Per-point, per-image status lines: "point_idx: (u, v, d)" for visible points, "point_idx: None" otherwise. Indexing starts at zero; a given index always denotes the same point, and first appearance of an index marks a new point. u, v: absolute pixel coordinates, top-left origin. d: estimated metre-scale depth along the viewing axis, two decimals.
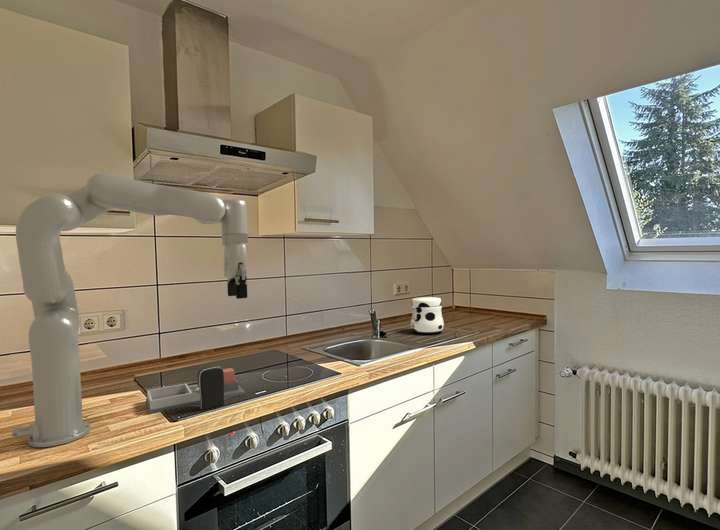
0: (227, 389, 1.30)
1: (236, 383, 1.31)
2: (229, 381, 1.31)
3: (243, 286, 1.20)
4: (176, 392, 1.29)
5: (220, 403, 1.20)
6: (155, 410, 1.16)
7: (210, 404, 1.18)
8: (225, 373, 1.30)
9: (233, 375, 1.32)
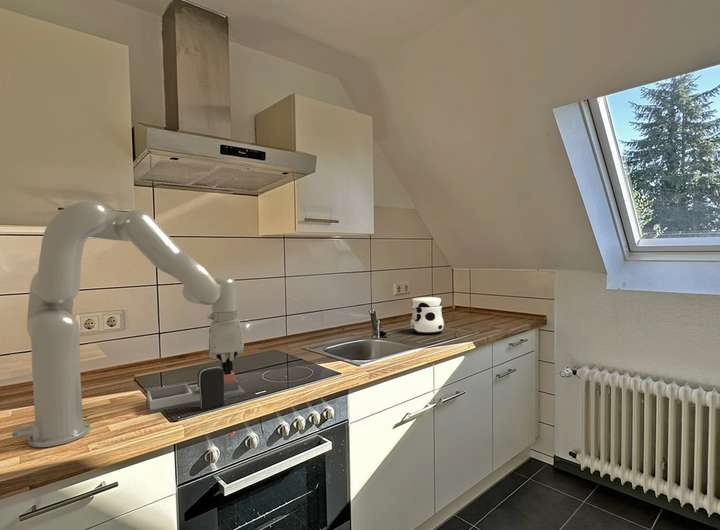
0: (227, 389, 1.30)
1: (236, 383, 1.31)
2: None
3: None
4: (176, 392, 1.29)
5: (220, 403, 1.20)
6: (155, 410, 1.16)
7: (210, 404, 1.18)
8: (225, 376, 1.30)
9: (233, 378, 1.32)
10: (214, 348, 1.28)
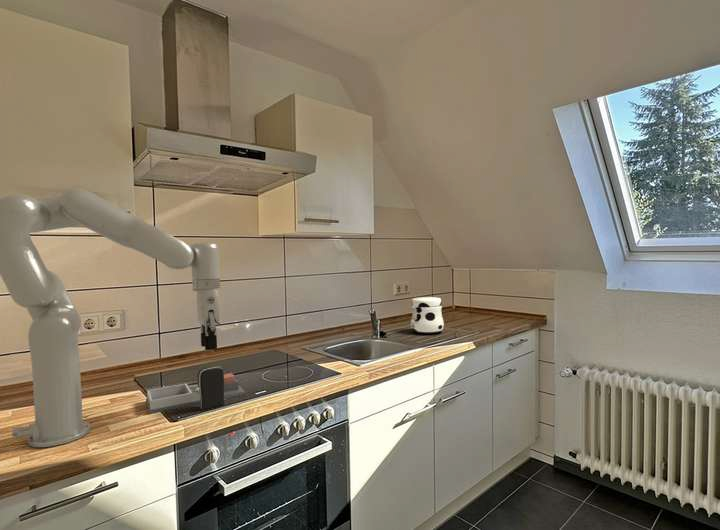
0: (227, 389, 1.30)
1: (236, 383, 1.31)
2: None
3: None
4: (176, 392, 1.29)
5: (220, 403, 1.20)
6: (155, 410, 1.16)
7: (210, 404, 1.18)
8: (225, 379, 1.30)
9: (233, 381, 1.32)
10: (220, 317, 1.17)
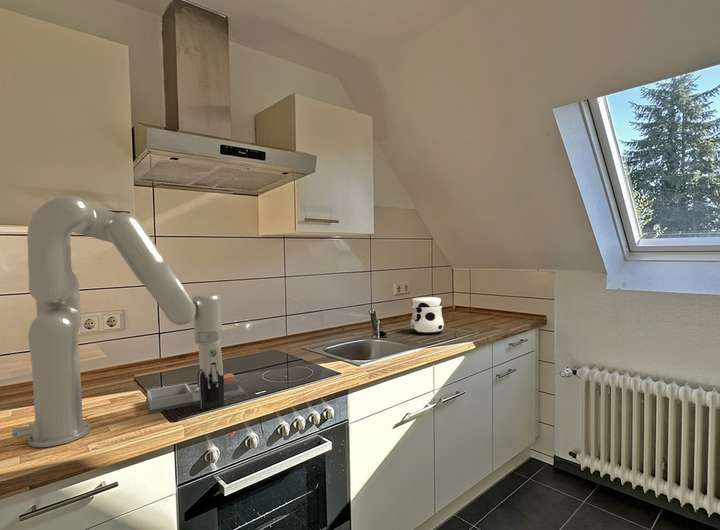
0: (227, 389, 1.30)
1: (236, 383, 1.31)
2: None
3: None
4: (176, 392, 1.29)
5: (220, 403, 1.20)
6: (155, 410, 1.16)
7: (210, 404, 1.18)
8: (225, 379, 1.30)
9: (233, 381, 1.32)
10: (222, 369, 1.18)
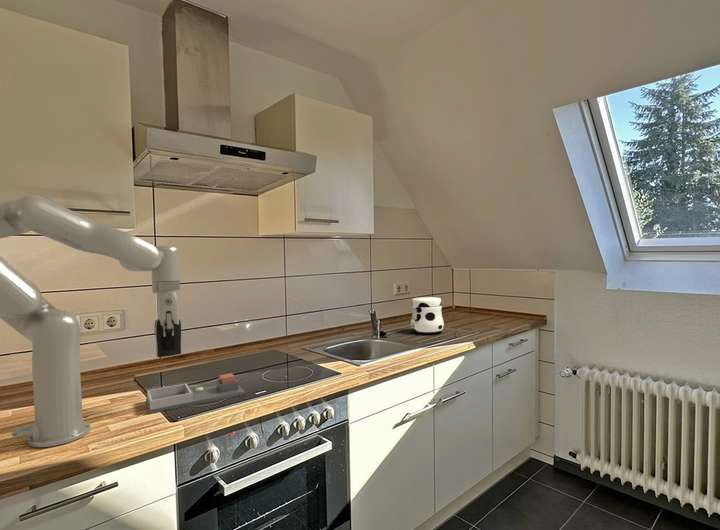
0: (227, 389, 1.30)
1: (236, 383, 1.31)
2: None
3: None
4: (176, 392, 1.29)
5: (176, 352, 1.23)
6: (155, 410, 1.16)
7: (166, 352, 1.21)
8: (225, 379, 1.30)
9: (233, 381, 1.32)
10: None
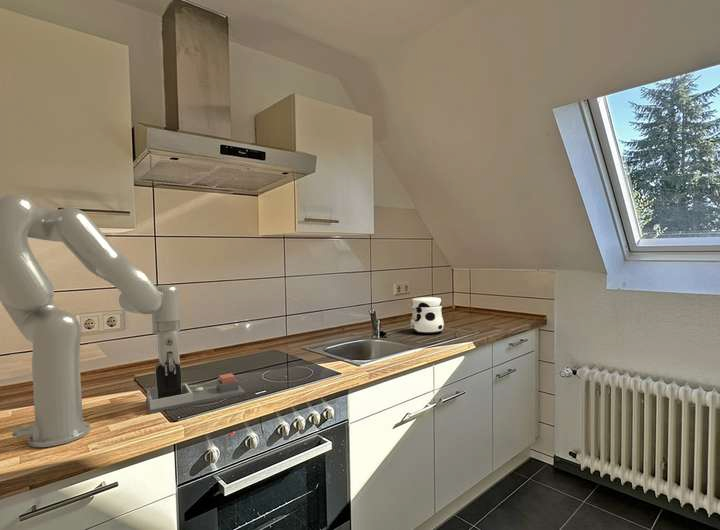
0: (227, 389, 1.30)
1: (236, 383, 1.31)
2: None
3: None
4: None
5: None
6: (155, 410, 1.16)
7: None
8: (225, 379, 1.30)
9: (233, 381, 1.32)
10: (179, 358, 1.21)
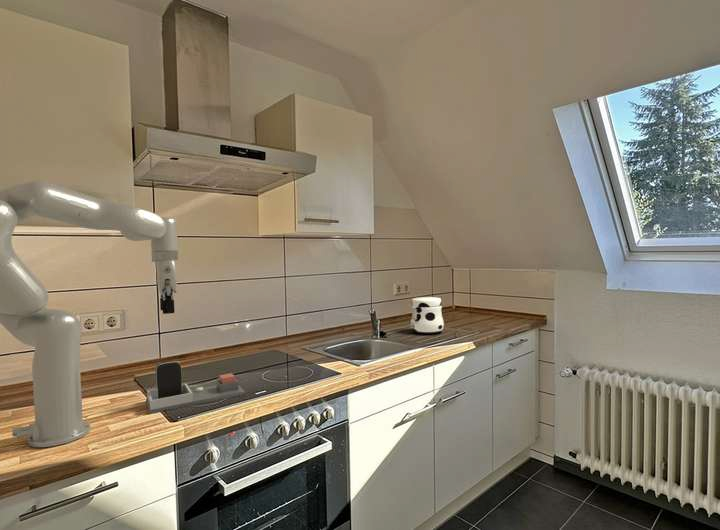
0: (227, 389, 1.30)
1: (236, 383, 1.31)
2: None
3: None
4: None
5: None
6: (155, 410, 1.16)
7: None
8: (225, 379, 1.30)
9: (233, 381, 1.32)
10: (176, 286, 1.27)
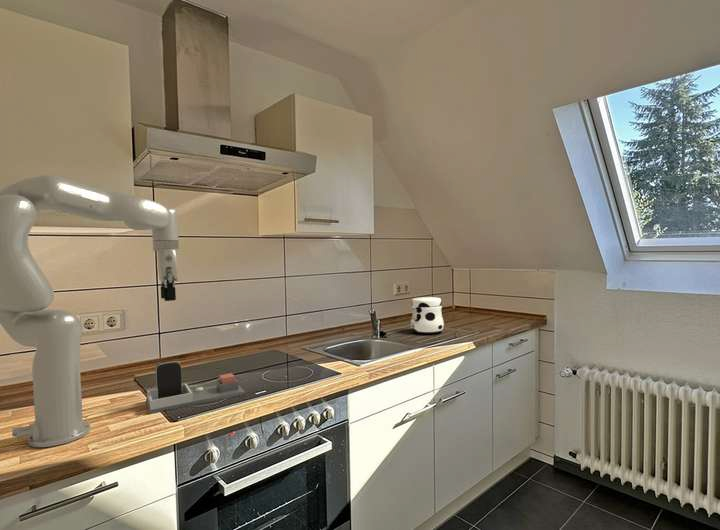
0: (227, 389, 1.30)
1: (236, 383, 1.31)
2: None
3: None
4: None
5: None
6: (155, 410, 1.16)
7: None
8: (225, 379, 1.30)
9: (233, 381, 1.32)
10: (177, 274, 1.31)
